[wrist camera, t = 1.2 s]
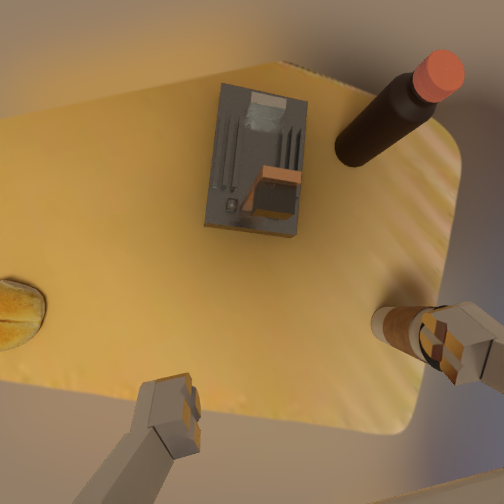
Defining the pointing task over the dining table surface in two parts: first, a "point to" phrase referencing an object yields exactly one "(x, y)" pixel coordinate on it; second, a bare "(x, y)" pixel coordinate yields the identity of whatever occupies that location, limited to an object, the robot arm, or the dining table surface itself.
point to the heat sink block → (253, 155)
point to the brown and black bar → (273, 193)
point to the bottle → (400, 108)
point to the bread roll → (19, 313)
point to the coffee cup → (403, 330)
